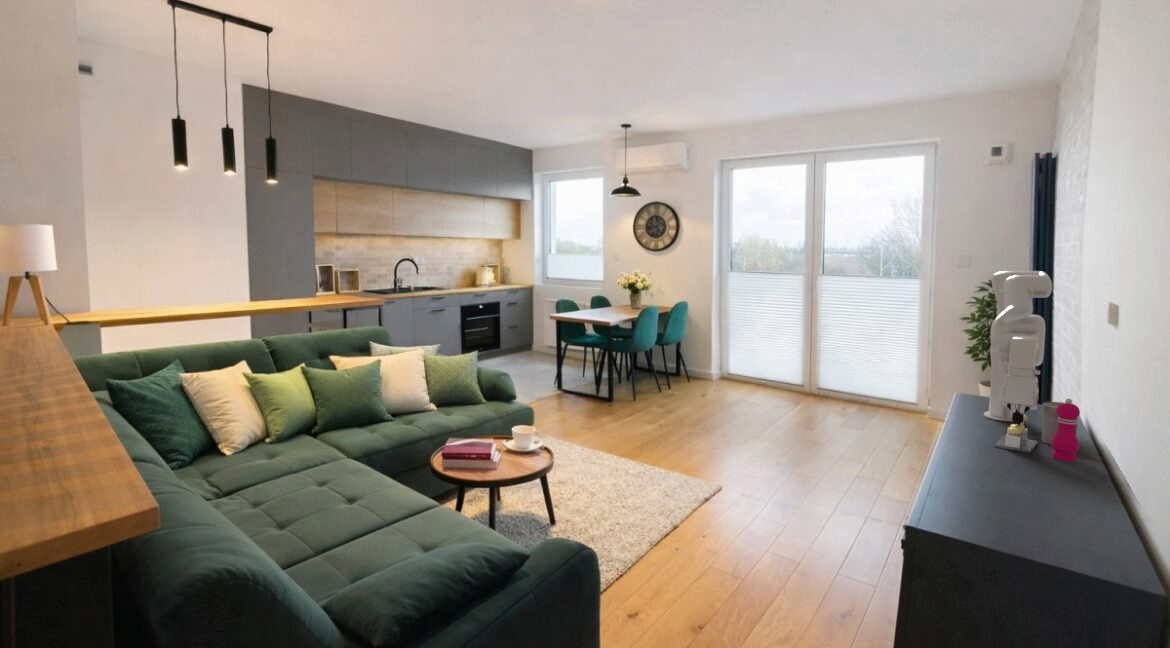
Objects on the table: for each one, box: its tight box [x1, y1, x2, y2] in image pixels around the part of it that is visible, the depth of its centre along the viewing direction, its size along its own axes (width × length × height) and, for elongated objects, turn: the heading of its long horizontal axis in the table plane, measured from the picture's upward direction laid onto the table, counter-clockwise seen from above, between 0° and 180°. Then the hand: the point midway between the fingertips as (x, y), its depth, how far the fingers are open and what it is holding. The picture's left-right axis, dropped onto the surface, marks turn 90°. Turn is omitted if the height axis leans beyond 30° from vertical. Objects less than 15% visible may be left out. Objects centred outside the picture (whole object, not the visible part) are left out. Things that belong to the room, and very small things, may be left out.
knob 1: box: [1009, 423, 1025, 431], centre depth 213 cm, size 4×4×6 cm
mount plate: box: [994, 427, 1038, 454], centre depth 213 cm, size 14×10×5 cm
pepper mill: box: [1050, 398, 1081, 462], centre depth 199 cm, size 7×7×20 cm
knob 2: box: [1006, 426, 1022, 436], centre depth 210 cm, size 4×4×6 cm
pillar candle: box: [1041, 401, 1078, 445], centre depth 215 cm, size 10×10×15 cm
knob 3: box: [1017, 414, 1028, 427], centre depth 216 cm, size 4×4×6 cm
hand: (1017, 423), depth 213 cm, fingers closed
